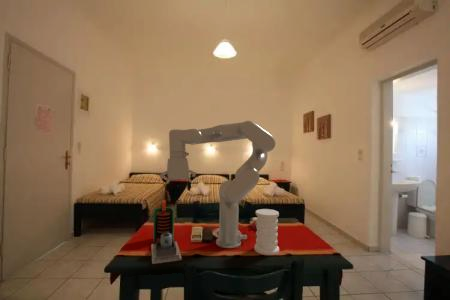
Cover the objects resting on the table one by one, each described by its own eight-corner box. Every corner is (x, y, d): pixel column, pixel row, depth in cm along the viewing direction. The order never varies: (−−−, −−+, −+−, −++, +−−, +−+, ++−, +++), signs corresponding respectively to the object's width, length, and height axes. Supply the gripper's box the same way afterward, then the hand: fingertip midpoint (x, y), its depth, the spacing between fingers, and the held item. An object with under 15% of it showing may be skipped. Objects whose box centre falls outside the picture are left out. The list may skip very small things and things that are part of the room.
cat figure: (277, 240, 127) (262, 222, 152) (277, 224, 126) (263, 208, 151) (259, 241, 125) (247, 222, 150) (260, 225, 125) (248, 209, 149)
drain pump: (171, 247, 109) (171, 230, 109) (172, 253, 103) (172, 235, 103) (160, 248, 108) (160, 231, 108) (160, 254, 102) (160, 236, 102)
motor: (154, 244, 115) (155, 204, 115) (151, 238, 123) (152, 200, 123) (175, 241, 120) (175, 202, 120) (170, 235, 128) (171, 198, 127)
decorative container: (279, 256, 104) (280, 216, 104) (253, 253, 107) (254, 214, 106) (278, 245, 116) (279, 209, 116) (255, 243, 118) (255, 208, 118)
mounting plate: (176, 243, 117) (176, 236, 117) (181, 260, 99) (181, 251, 99) (151, 246, 113) (151, 239, 113) (152, 264, 96) (152, 255, 96)
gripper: (193, 154, 118) (194, 188, 119) (158, 155, 112) (159, 191, 113) (197, 155, 111) (198, 190, 112) (159, 156, 105) (160, 194, 106)
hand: (178, 191), depth 112 cm, fingers open, 9 cm apart
